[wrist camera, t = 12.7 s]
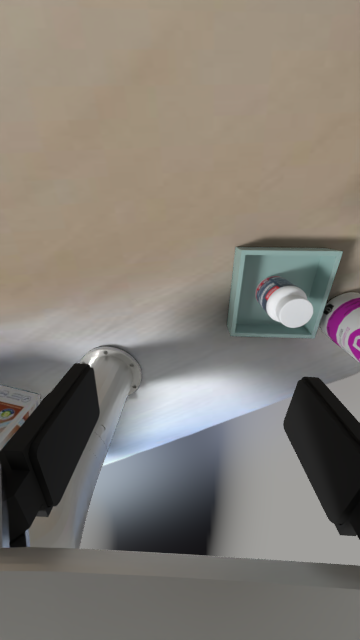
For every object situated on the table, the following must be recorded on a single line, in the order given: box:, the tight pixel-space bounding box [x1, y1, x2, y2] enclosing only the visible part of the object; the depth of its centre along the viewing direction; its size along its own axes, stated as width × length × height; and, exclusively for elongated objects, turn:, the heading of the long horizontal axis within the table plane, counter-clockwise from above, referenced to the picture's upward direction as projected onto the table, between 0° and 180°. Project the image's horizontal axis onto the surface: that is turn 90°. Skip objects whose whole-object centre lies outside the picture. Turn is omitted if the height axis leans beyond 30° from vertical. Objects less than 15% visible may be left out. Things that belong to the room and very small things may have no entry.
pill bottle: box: [255, 276, 313, 328], centre depth 29 cm, size 5×5×9 cm
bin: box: [227, 247, 343, 338], centre depth 32 cm, size 13×13×4 cm
